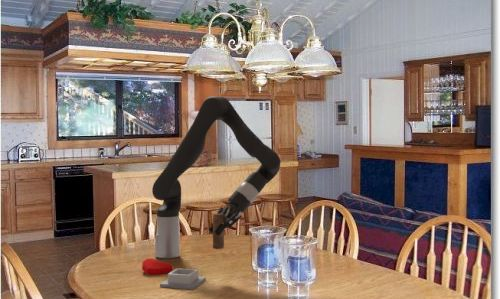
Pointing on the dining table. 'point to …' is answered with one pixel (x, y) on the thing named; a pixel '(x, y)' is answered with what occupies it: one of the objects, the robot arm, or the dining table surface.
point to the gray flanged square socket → (183, 279)
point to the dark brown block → (219, 240)
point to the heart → (156, 267)
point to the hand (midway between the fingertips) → (213, 232)
